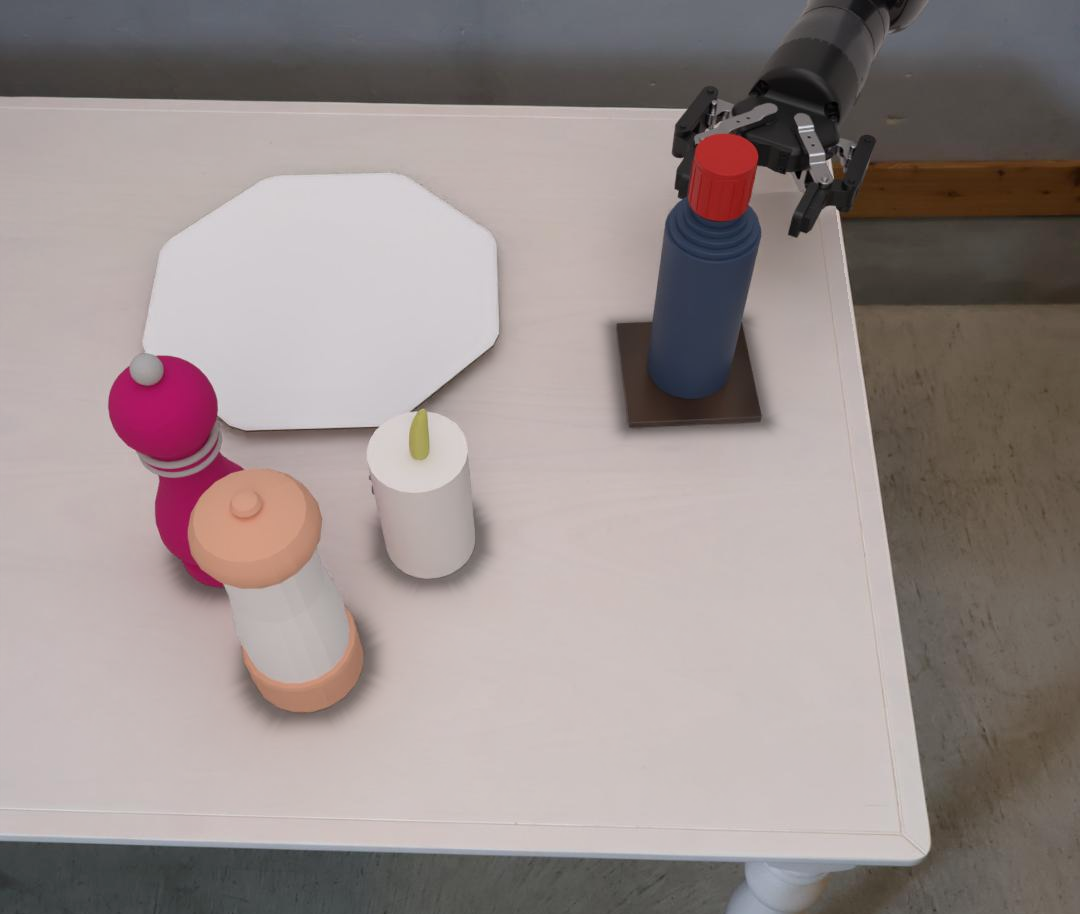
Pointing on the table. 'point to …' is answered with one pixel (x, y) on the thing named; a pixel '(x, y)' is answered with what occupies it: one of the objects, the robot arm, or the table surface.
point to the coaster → (666, 410)
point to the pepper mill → (172, 441)
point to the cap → (722, 177)
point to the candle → (423, 493)
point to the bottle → (700, 300)
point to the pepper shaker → (278, 587)
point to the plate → (326, 300)
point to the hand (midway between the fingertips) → (738, 208)
